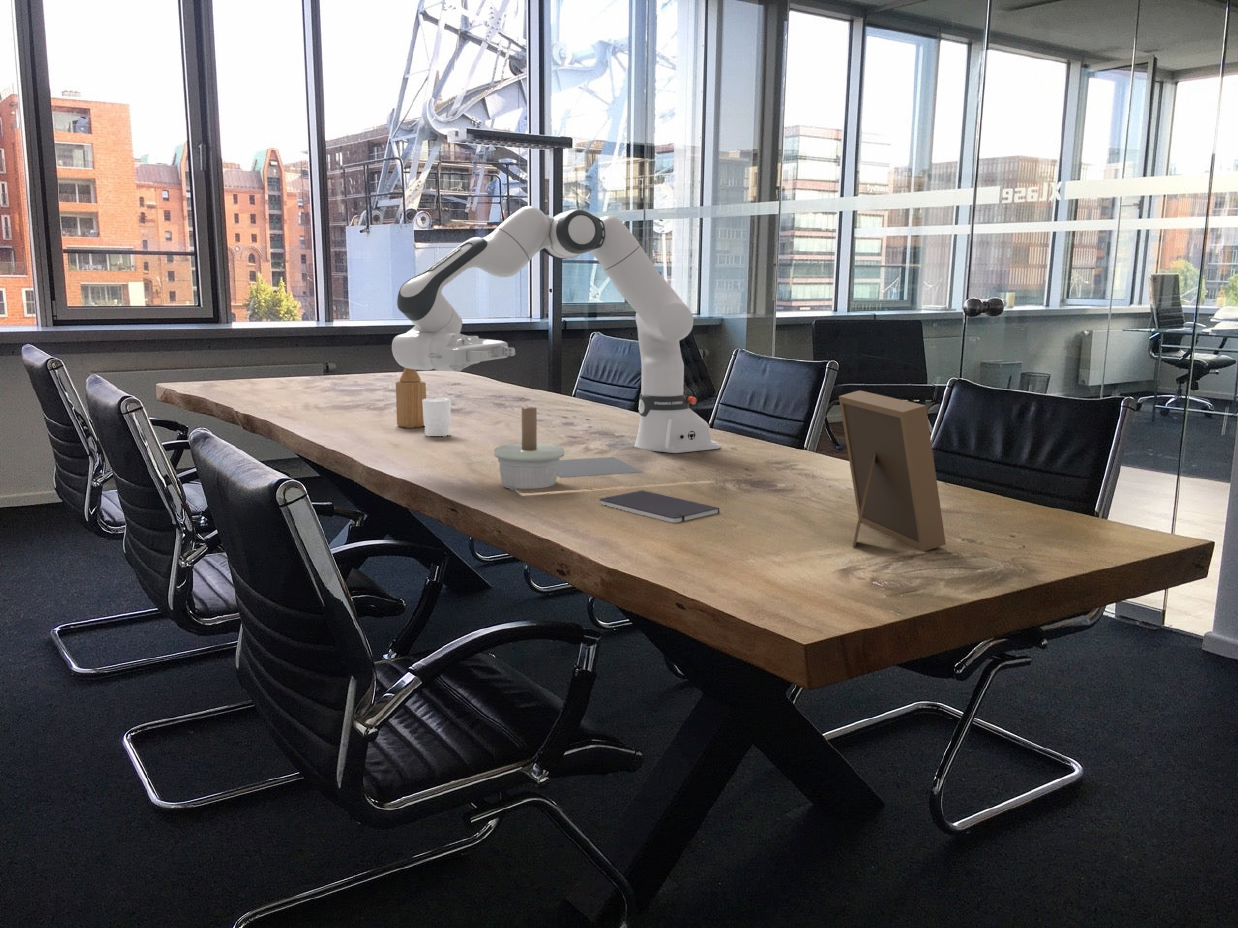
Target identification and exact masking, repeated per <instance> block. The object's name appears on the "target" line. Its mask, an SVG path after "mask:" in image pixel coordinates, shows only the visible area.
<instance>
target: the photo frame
mask: <svg viewBox="0 0 1238 928" xmlns="http://www.w3.org/2000/svg"><path fill="white" fill-rule="evenodd" d="M838 401H839V405H840V411H841V412H840V413H841V418H842V419H841V420H842V425H843V430H844V437H845V442H846V443H845V444H846V450H847V455H848V460H849V468H850V474H851V479H852V480H851V481H852V485H853V492H854V497H855V504H856V509H857V516H858V519H857V524H856V529H855V534H854V538H853V542H852V543H853V544H852V547H854V548H856V545H857V541H858V536H859V533H860V529H861V528H860V527H861V524H863V525H865V526H868V527H869V528H872V529H874V530H876V531H878V532H881V533H883V534H885V535H887V536H890V537H892V538H894V539H896V540H898V541H900V542H902V543H905V544H907V545H909V546H911V547H913V548H916V549H918V550H919V551H922V552H927V551H929V550H933V549H936V548H939V547H942V546H945V545H946V536H945V530H944V521H943V515H942V508H941V501H940V495H939V487H938V481H937V473H936V467H935V465H936V464H935V460H934V453H933V445H932V437H931V432H930V424H929V419H928V411H927V405H926V404H921V403H916V402H913V401H908V400H904V399H898V398H895V397H890V396H886V395H883V394H878V393H872V392H868V391H864V390H860V389H859V390H855V391H852V392H849V393H845V394H842V395H839V396H838Z"/></svg>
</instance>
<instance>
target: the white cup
mask: <svg viewBox="0 0 1238 928" xmlns="http://www.w3.org/2000/svg"><path fill="white" fill-rule="evenodd" d="M451 403H452V399H451V398H447V397H446V398H445V397H429V398H428V397H426V399H423V400H422V406H423V420H424V426H425V427H424V435H425V437H430V436H443V437H447V435H448V436H449V435H450V430H451V429H450V426H451V408H452V407H451V406H452V405H451Z"/></svg>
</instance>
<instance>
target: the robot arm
mask: <svg viewBox="0 0 1238 928" xmlns="http://www.w3.org/2000/svg"><path fill="white" fill-rule="evenodd" d="M540 251H542V252H543V253H545V254H546V255H548V256H550V257H552V258H553V259H558V260H566V259H572V258H576V257H579V256H580V255H582V254H585V253H589V254H590V255H592V256H593V257H594V258H595V259H596V260H597V261H598V263H599V265H600V266H601V268H602V269H603V271H604V272H605V274H606V275H607V277H608V278H609V279H610V280H611V282H612V284H613V285H614V287H615V288H616V290H617V292H618V293H619V294H620V295H621V297H622V298H623V299H624V300H625V301H626V302H627V303H628V304H629V306H631V308H632V310H634V311H635V312H636V313H635V323H636V327H637V337H638V338H637V339H638V345H639V347H638V348H639V353H640V360H641V361H640V362H641V363H640V364H641V376H640V377H641V383H640V385H641V390H640V393H639V401H638V410H639V411H638V413H639V424H638V431H637V435H636V440H635V442H634V447H635V448H638V449H641V450H648V451H651V452H659V453H661V452H662V453H663V452H664V453H668V454H669V453H670V454H679V453H688V452H689V453H690V452H697V451H698V452H699V451H709V450H717V449H720V443H719V442H717V441H715V440H713V439H712V435H711V428H710V425H709V423H708V422H707V421H706V420H705V419H703V418H702V417H700V416H699V415H698V414H697V413H696V412H695V411H693V410H692V409H691V408H690V405H696V403H697V398H696V397H695V396H692V395H690V396H688V395H686V394H684V390H685V389H684V384H685V383H684V381H685V380H684V379H685V377H684V376H685V365H684V361H683V357H682V352H681V347H680V341H681V340H683V339H685V338H687V337H688V335H689V334H690V333H691V332H692V330H693V326H694V316H693V313H692V311H691V310H690V308H689V307H688V306H687V305H686V304H685V303H684V302H683V300H682V298H680V296H679V295H678V293H677V292H676V291H675V290H674V288H672V286H671V285H670V284H669V282H667V281H666V279H665V278H664V277H663V276H662V275H661V274H660V272H659V271H658V270H657V268H656V266H655V265H654V264H653V262H652V261H651V259H650V257H649V256H648V255H647V253H646V252H645V250H644V249H643V247H642V245H640V243H639V241H638V240H637V239H636V237H635V236H634V234H633V233H632V232H631V230H630V229H629V228H628V227H627V226H626V225H625V224H624V223H623V222H622V221H621V220H620V219H619V218H618V217H617V216H614V215H611V214H610V215H603V216H600V217H598V216H595V215H594V214H592V213H590V212H588V211H587V210H583V209H580V208H578V209H577V208H573V209H569V210H567V211H563V212H560V213H557V214H556V215H555V216H552V217H549V216H547V215H546V214H545V213H544V212H543V211H542V210H541V209H540V208H537V207H535V206H532V205H526V206H523V207H521V208H519V209H518V210H516V211H514V212H513V213H512V214H510V216H508V217H507V218H506V219H504V220H503V222H501V223H500V224H499V225H498V226H497V227H496V228H495V229H494V230H493V231H491V233H489V234H488V235H486V236H484V237H479V236H475V237H471V238H468V239H467V240H465V241H464V242H462V243H461V244H458V246H456V247H455V248H454V249H452V250H451V251H450V252H448V253H446V255H444V256H442V258H440V259H439V260H438V261H436V262H435V263H433V264H432V265H431V266H429V267H427V269H426V270H424V271H423V272H421V273H419V274H417V275H416V276H413V277H412V278H410V279H408V280H407V281H405V282H404V283H403V284H402V285H401V286H400V288H399V290H398V294H397V301H396V305H397V309H398V310H399V312H401V313H402V314H403V315H404V317H406V318H407V319H408V320H409V321H411V323H412V325H414V326H413V327H412V328H410V329H409V330H407V332H405V333H401V334H398V335H396V336H395V337H393V339H392V342H391V352H392V356H393V358H394V359H395V361H396V363H397V364H399V366H401V367H403V368H404V369H405V368H409V369H415V370H416V371H431V370H435V371H438V372H454V373H455V372H457V373H458V372H461V371H462V370H464V369H465V368H468V367H469V366H473V365H475V364H480V362H486V361H492V360H499V359H505V358H508V357H513V356H515V355H516V349H515V348H514V347H509V345H508V342H506V341H503V340H498V339H497V340H496V339H489V338H480V337H479V336H478V335H465V334H462V333H461V332H462V328H463V320H462V317H461V316H460V315H459V313H458V312H457V311H456V309H455V308H454V307H453V305H452V304H451V303H450V302H449V301H448V300H447V298H446V297H445V296H444V295H443V292H442V291H443V289H444V288H445V286H447V285H448V284H450V282H452V281H453V280H455V279H456V278H457V277H458V276H460V275H461V274H462V273H463V272H465V271H467V270H468V269H471V268H478V269H480V270H482V271H484V272H485V273H487V274H490V275H491V276H494V277H497V278H510V277H513V276H514V275H517V274H518V273H519V272H520V271H521V270H522V269H523V268H524V267H526V265H527V264H528V263H529V262H530V261H531V260H532V258H533V257H535V255H537V253H539V252H540Z"/></svg>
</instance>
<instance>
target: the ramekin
mask: <svg viewBox="0 0 1238 928" xmlns="http://www.w3.org/2000/svg"><path fill="white" fill-rule="evenodd" d="M559 460H560V458H558V459H553V460H545V461H511V460H504V459H500V458H498V460H497V462H499V471H500V479H501V483H502V485H503V486H504V487H505V488H507V489H508V488H509V490H511V489H514V490H513V491H518V489H520V490H521V489H523V490H524V489H525V490H527V489H528V490H532V489H544V488H548V487H549V488H550V487H552V486H554V485H555V484H556V482H557V470H558V463H559Z"/></svg>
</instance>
